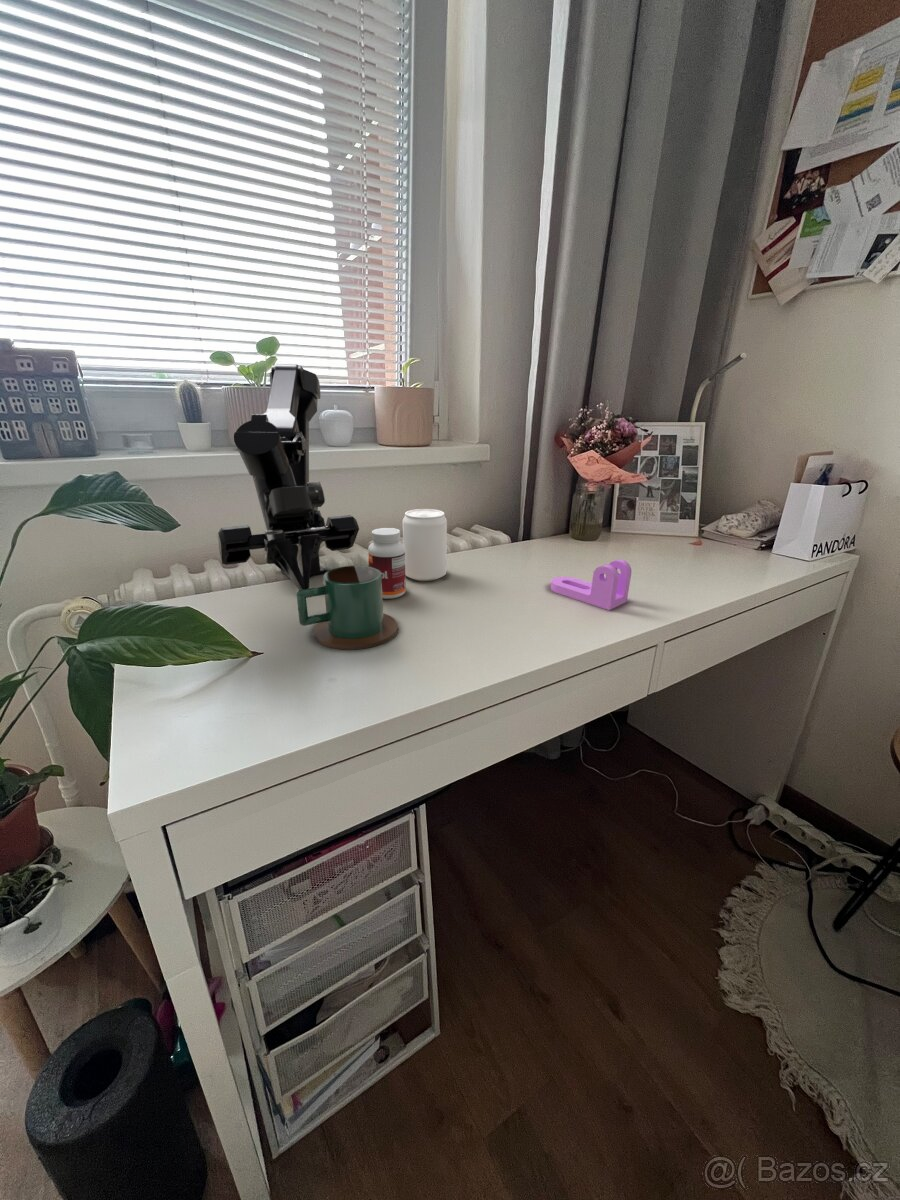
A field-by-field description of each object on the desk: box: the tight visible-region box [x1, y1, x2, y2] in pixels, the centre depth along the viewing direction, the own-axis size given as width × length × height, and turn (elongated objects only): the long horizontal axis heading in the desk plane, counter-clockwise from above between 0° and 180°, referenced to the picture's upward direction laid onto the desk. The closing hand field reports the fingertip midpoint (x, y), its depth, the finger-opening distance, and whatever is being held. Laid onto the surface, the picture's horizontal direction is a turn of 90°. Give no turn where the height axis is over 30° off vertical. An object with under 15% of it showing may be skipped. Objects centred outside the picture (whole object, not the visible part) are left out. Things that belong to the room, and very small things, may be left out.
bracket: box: [550, 558, 633, 611], centre depth 86 cm, size 13×6×7 cm, turn 43°
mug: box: [295, 565, 384, 639], centre depth 71 cm, size 12×8×8 cm
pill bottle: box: [367, 527, 407, 600], centre depth 85 cm, size 6×6×11 cm
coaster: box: [313, 612, 399, 651], centre depth 73 cm, size 12×12×1 cm
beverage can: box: [402, 508, 448, 582], centre depth 94 cm, size 8×8×12 cm
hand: (305, 591), depth 69 cm, fingers closed
